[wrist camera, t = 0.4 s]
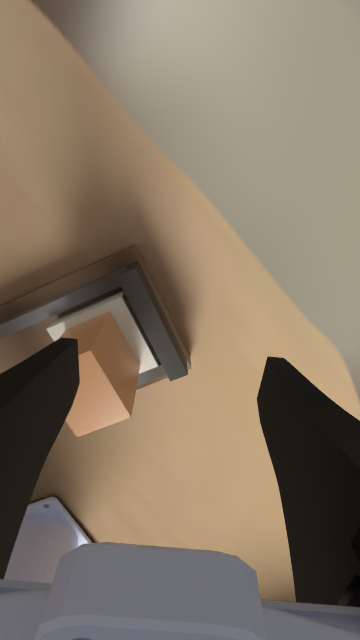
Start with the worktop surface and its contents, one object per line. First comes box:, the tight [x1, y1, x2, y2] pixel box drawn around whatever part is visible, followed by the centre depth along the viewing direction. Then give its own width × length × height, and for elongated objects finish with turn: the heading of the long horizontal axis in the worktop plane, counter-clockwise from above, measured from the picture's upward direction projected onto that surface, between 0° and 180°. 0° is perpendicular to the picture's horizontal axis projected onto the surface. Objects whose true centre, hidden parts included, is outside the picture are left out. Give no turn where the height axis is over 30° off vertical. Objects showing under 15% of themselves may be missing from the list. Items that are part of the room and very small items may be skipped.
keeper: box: [46, 290, 159, 437], centre depth 19 cm, size 5×5×6 cm
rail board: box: [0, 244, 191, 390], centre depth 23 cm, size 20×9×4 cm, turn 113°
